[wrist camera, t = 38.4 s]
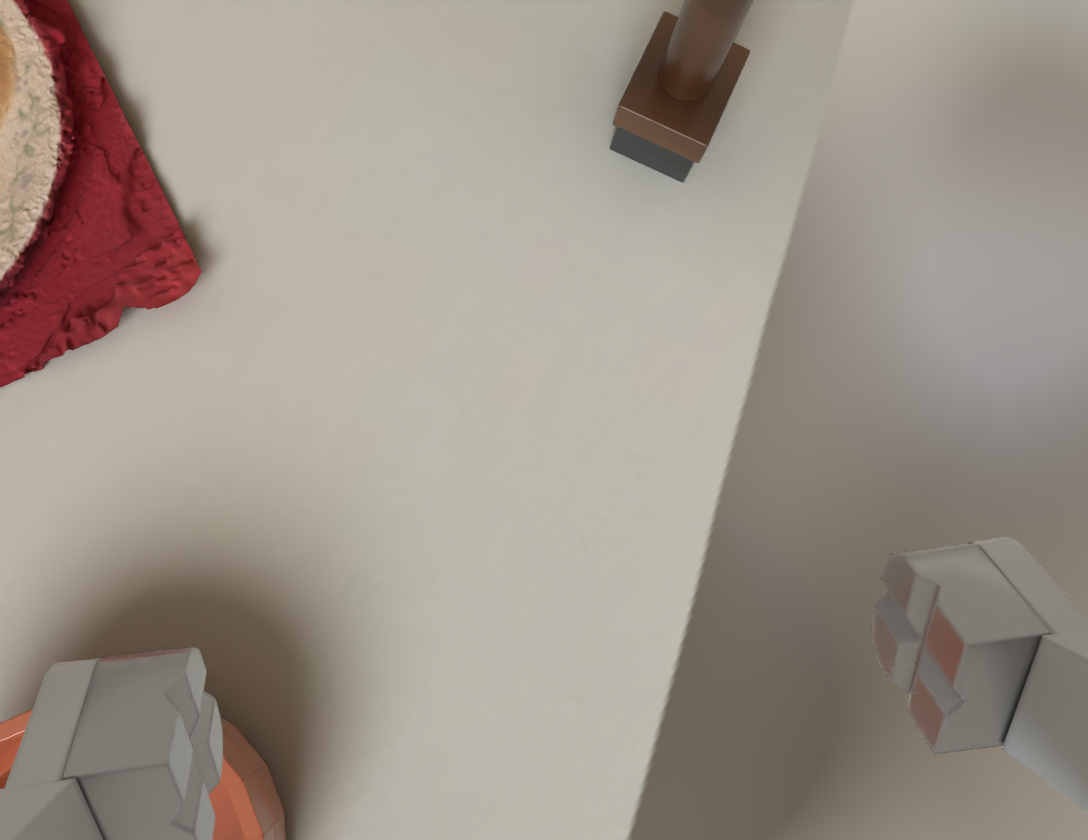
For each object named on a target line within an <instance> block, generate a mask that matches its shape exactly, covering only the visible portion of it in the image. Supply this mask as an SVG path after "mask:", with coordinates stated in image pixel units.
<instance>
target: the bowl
mask: <svg viewBox="0 0 1088 840" xmlns="http://www.w3.org/2000/svg"><path fill="white" fill-rule="evenodd" d="M31 712H32V710H29V711H27V712H25V713H22V714H20V715H18V716H15V717H13V718H11V719H8V720H6V721H4V722H1V723H0V789H4V788H5V785H6V782H7V780H8V777H9V774H10V771H11V768H12V766H13V763H14V760H15V757H16V754H17V752H18V749H19V746H20V743H21V740H22V737H23V735H24V732H25V729H26V726H27V723H28V721H29V718H30V715H31ZM220 718H221V717H220ZM221 725H222V731H223V763H222V772H221V780H220V782H219V784H218V785H217V786H216V787H215V788H214V789H213V791H212V792H211V793H210V794H209V798H210V801H211V804H212V807H213V810H214V813H215V816H216V817H215V824H214V831H213V838H212V840H286V833H285V813H284V809H283V807H282V804H281V801H280V799H279V796H278V793H277V791H276V788H275V785H274V783H273V780H272V777H271V775H270V772H269V769H268V767H267V765H265V762H264V761H263V759H262V758H261V757H260V756H259V755H258V753H257V752H256V751H255V750H254V748H253V747H252V746H251V745H250V744H249V742H248V741H247V740H246V739H245V738H244V736H243V735H242V734H241V733H240V731H239V730H238V729H237V728H236V727H235V726H234V725H233V724H231V723H230V722H228V721H226V720H225V719H223V718H221Z"/></svg>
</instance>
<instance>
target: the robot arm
mask: <svg viewBox="0 0 1088 840" xmlns="http://www.w3.org/2000/svg"><path fill="white" fill-rule="evenodd" d="M881 580H882V581H883V583H884V585H885V586H886V588H887V589H888V592H887V593H886V594H885V595H884V597H882V598H881V599H880V600H879V601H878V602H877V604H876V605H875V606H874V611H873V617H872V623H871V630H872V638H873V646H874V650H875V653H876V655H877V658H878V661H879V663H880V666H881V667H882V669H883V671H884V672H885V674H886V676H887V678H888V679H889V681H890V682H892V683H894V684H895V685H897V686H899V687H900V688H902V689H904V690H905V691H907V692H908V693H910V698H909V703H908V707H907V711H908V713H909V714H910V716H911V717H912V719H913V721H914V723H915V724H916V726H917V727H918V729H919V730H920V732H921V734H922V736H923V737H924V739H925V740H926V742H927V744H928V745H929V747H930V749H931V750H932V752H933V754H942V753H950V752H958V751H966V750H973V749H981V748H988V747H996V746H1003V748H1002V750H1004V751H1005V752H1006V753H1008V754H1009V755H1011V756H1012V757H1013V758H1015V759H1016V760H1018V761H1019V762H1020V763H1021V764H1023V765H1024V766H1026V767H1027V768H1028V769H1030V770H1031V771H1033V772H1034V773H1035V774H1037V775H1038V776H1039V777H1041V778H1042V779H1043V780H1045V781H1046V782H1047V783H1049V784H1050V785H1052V786H1053V787H1054V788H1056V789H1057V790H1058V791H1060V792H1061V793H1063V794H1064V795H1065V796H1067V797H1068V798H1069V799H1071V800H1072V801H1074V802H1075V803H1076V804H1077V805H1079V806H1080V807H1082V808H1083V809H1084V810H1086V811H1087V812H1088V618H1087V617H1086V616H1085V615H1084V614H1083V613H1082V612H1081V610H1080V609H1079V608H1078V607H1077V606H1076V605H1075V604H1074V603H1073V601H1071V599H1070V598H1069V597H1068V596H1067V595H1066V594H1065V593H1064V591H1063V590H1062V589H1061V588H1060V587H1059V586H1058V585H1057V584H1056V583H1055V582H1054V580H1053V579H1052V578H1051V577H1050V576H1049V575H1048V574H1047V573H1046V571H1045V570H1044V569H1043V568H1042V567H1041V566H1040V565H1039V564H1038V562H1036V560H1035V559H1034V558H1033V557H1032V556H1031V555H1030V554H1029V552H1028V551H1027V550H1026V549H1025V548H1024V547H1023V546H1022V545H1021V544H1020V543H1019V542H1018V541H1016V540H1014V539H1012V538H1010V537H1001V538H994V539H987V540H980V541H974V542H969V543H967V544H966V543H961V544H954V545H947V546H940V547H933V548H926V549H919V550H912V551H905V552H898V553H892V554H890V555H889V557H888V558H887V559H886V561H885V562H884V566H883V570H882V574H881ZM206 672H207V670H206V667H205V664H204V661H203V658H202V655H201V653H200V650H199V649H197V648H195V647H188V648H179V649H170V650H161V651H152V652H143V653H134V654H125V655H115V656H106V657H102V658H98V659H89V660H79V661H69V662H60V663H55V664H54V665H53V666H52V667H51V668H50V669H49V670H48V672H47V673H46V674H45V676H44V679H43V681H42V684H41V687H40V690H39V693H38V695H37V698H36V701H35V704H34V707H33V709H32V712H31V715H30V718H29V721H28V723H27V726H26V729H25V732H24V735H23V737H22V740H21V743H20V746H19V749H18V752H17V754H16V757H15V760H14V763H13V766H12V768H11V771H10V774H9V777H8V780H7V782H6V785H5V788H4V789H0V840H212V838H213V831H214V824H215V817H216V816H215V813H214V810H213V807H212V804H211V801H210V798H209V794H210V793H211V792H212V791H213V789H214V788H215V787H216V786H217V785H218V784H219V782H220V780H221V772H222V763H223V731H222V725H221V718H220V713H219V709H218V706H217V702H216V699H215V697H213V696H212V695H210V694H209V693H207V692H205V691H204V684H205V678H206Z"/></svg>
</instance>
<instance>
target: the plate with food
mask: <svg viewBox="0 0 1088 840" xmlns="http://www.w3.org/2000/svg"><path fill="white" fill-rule="evenodd" d="M200 274H201V269H200V267H199V265H198V263H197V261H196V259H195V256H194V254H193V252H192V251H191V249H190V247H189V245H188V243H187V241H186V238H185V236H184V233H183V231H182V230H181V227H180V225H179V223H178V221H177V219H176V217H175V215H174V213H173V211H172V209H171V208H170V205H169V203H168V201H167V199H166V197H165V195H164V193H163V191H162V189H161V187H160V185H159V183H158V181H157V179H156V177H155V175H154V173H153V171H152V169H151V167H150V165H149V163H148V161H147V159H146V157H145V155H144V153H143V151H142V149H141V147H140V145H139V143H138V141H137V140H136V137H135V135H134V134H133V132H132V130H131V128H130V126H129V124H128V122H127V120H126V118H125V116H124V114H123V111H122V110H121V108H120V105H119V103H118V101H117V99H116V97H115V95H114V93H113V91H112V89H111V87H110V85H109V83H108V81H107V79H106V77H105V75H104V73H103V71H102V69H101V67H100V65H99V63H98V61H97V59H96V57H95V55H94V53H93V51H92V49H91V47H90V45H89V43H88V41H87V39H86V37H85V35H84V33H83V31H82V29H81V27H80V25H79V23H78V21H77V19H76V17H75V15H74V13H73V11H72V8H71V6H70V4H69V2H68V0H0V387H3V386H5V385H7V384H9V383H11V382H13V381H16V380H18V379H21V378H23V377H25V376H24V375H25V374H27V373H29V372H32V371H35V372H36V371H38V370H41V369H44V366H43V363H44V362H46V361H48V360H50V359H52V358H55V357H59V356H62V355H63V354H64V353H65V351H66V350H68V349H70V350H74V349H77V348H79V347H80V346H82V345H85V344H89V343H91V342H93V341H94V340H98V339H100V338H102V337H103V336H105V335H106V334H108V333H109V332H111V331H112V330H113V329H115V328H116V327H118V323H119V321H120V320H119V319H120V317H121V314H122V312H123V307H126V306H128V307H137V308H146V309H151V308H159V307H161V306H164V305H166V304H168V303H171V302H173V301H175V300H177V299H179V298H180V297H182V296H183V295H185V294H186V293H188V292H189V291H190V290H191V288H192V287H193V286H194V285H195V283H196V282H197V280H198V278H199V276H200Z"/></svg>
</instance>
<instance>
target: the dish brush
mask: <svg viewBox="0 0 1088 840" xmlns="http://www.w3.org/2000/svg"><path fill="white" fill-rule="evenodd" d="M752 2H753V0H685V1H684V4H683V7H682V9H681V12H680V15H679V17H676V16H674V15H672V14H670V13H668V12H663V14H662V16H661V18H660V20H659V22H658V24H657V27H656V29H655V31H654V33H653V35H652V37H651V39H650V41H649V43H648V45H647V47H646V49H645V51H644V53H643V56H642V58H641V60H640V62H639V64H638V66H637V68H636V70H635V72H634V74H633V76H632V78H631V80H630V82H629V85H628V87H627V89H626V91H625V93H624V95H623V97H622V99H621V101H620V103H619V105H618V108H617V112H616V115H615V118H614V121H613V124H614V125H616V126H617V128H616V131H615V134H614V137H613V140H612V143H611V146H610V149H611V150H613V151H615V152H617V153H620V154H622V155H624V156H626V157H628V158H631V159H633V160H635V161H637V162H639V163H641V164H644V165H646V166H648V167H650V168H652V169H654V170H657V171H659V172H661V173H663V174H665V175H668V176H670V177H672V178H674V179H676V180H678V181H681V182H684V180H685V178H686V177H687V175H688V173H689V171H690V169H691V167H692V165H693V163H694V162H696V163H699V162H700V160H701V158H702V156H703V154H704V152H705V151H706V149H707V147H708V145H709V142H710V140H711V138H712V136H713V134H714V131H715V129H716V127H717V125H718V122H719V120H720V118H721V116H722V114H723V111H724V109H725V107H726V105H727V102H728V100H729V98H730V96H731V94H732V91H733V89H734V87H735V85H736V83H737V80H738V78H739V76H740V74H741V71H742V69H743V67H744V65H745V63H746V60H747V58H748V56H749V54H750V50H748V49H746V48H744V47H742V46H740V45H737V44H735V43H733V42H734V40H735V38H736V36H737V34H738V32H739V29H740V27H741V25H742V23H743V21H744V19H745V17H746V15H747V13H748V11H749V9H750V7H751V5H752Z"/></svg>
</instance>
